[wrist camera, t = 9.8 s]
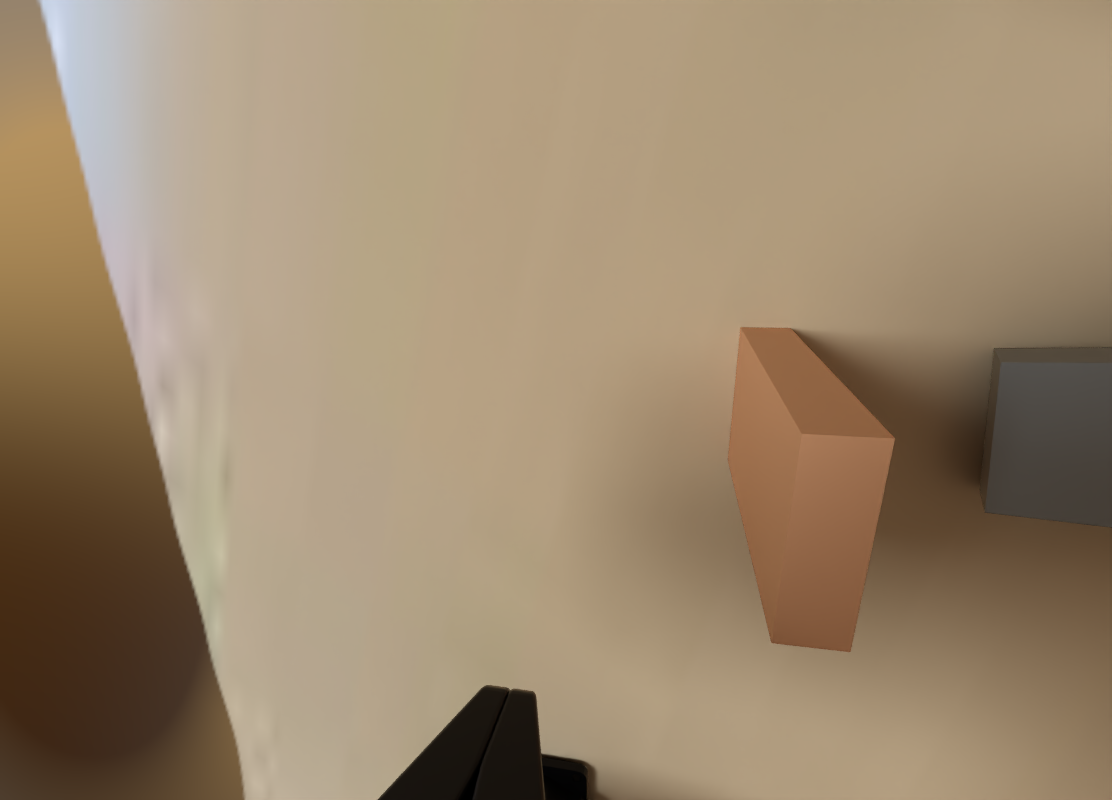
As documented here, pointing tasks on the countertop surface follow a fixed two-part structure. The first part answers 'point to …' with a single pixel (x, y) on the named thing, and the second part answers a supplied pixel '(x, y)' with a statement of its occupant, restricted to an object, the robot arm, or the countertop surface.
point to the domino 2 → (1049, 435)
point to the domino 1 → (805, 487)
